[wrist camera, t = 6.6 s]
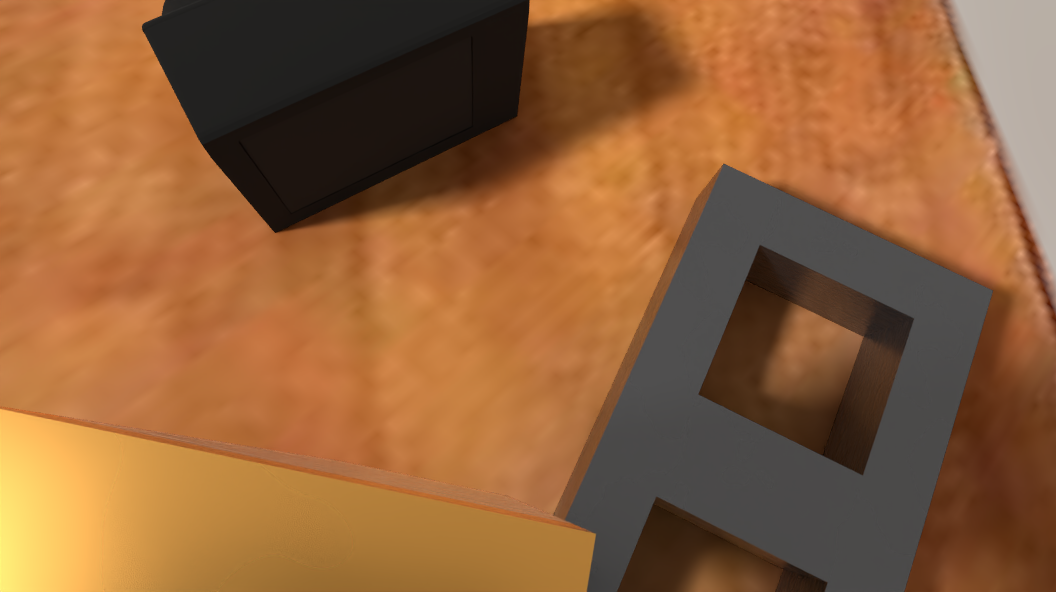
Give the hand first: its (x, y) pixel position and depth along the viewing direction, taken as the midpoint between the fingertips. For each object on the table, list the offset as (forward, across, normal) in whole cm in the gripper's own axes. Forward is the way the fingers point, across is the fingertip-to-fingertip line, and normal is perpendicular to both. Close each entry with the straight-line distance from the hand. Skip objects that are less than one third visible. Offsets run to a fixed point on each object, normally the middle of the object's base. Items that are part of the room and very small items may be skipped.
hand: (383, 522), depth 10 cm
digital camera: (+19, +6, 0) cm, 20 cm away
